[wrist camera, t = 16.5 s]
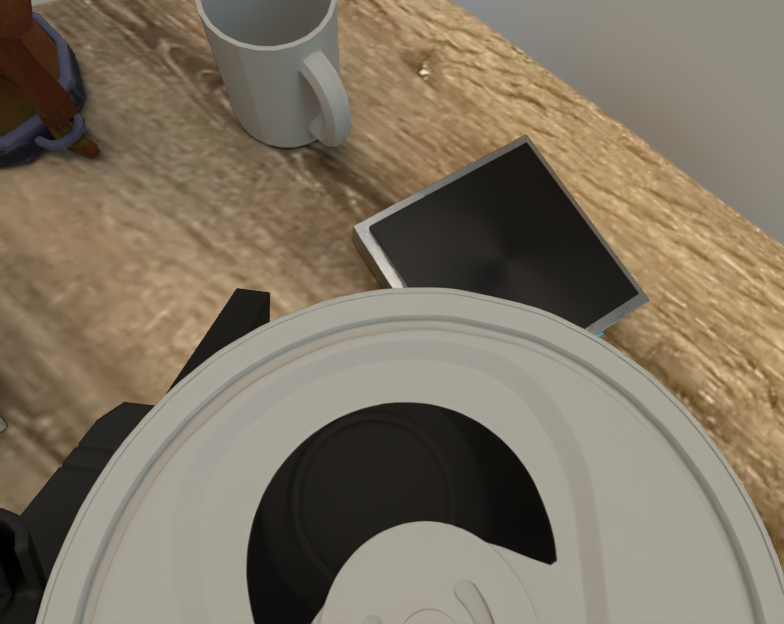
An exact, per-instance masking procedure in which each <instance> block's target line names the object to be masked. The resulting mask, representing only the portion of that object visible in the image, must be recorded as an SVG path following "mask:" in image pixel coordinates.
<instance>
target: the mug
mask: <svg viewBox="0 0 784 624" xmlns="http://www.w3.org/2000/svg"><path fill="white" fill-rule="evenodd" d="M85 98H86V95H85V91H84V88H83V84H82V80H81V76H80V73H79V69H78V65H77V61H76V58H75V54H74V53H73V51H72V50H71V48H70V47H69V45H68V44H67V42H66V41H65V40H64V39H63V38H62V37H61V36H60V35H59V34H58V33H57V32H56V31H55V30H54V29H53V28H52V27H51V26H50V25H49V24H48V22H47V21H46V20H45V19H44V18H43V17H42V16H41V15H40V14H38V13H35V12H32V6H31V0H0V167H3V166H9V165H15V164H21V163H28V162H29V161H31V160H32V159H34V158H35V157H36V156H38V155H39V154H41V153H42V152H44V151H45V150H46V149H50V150H54V151H55V150H59V149H64V148H68V149H70V150H72V151H75V152H77V153H79V154H81V155H83V156H85V157H88V158H90V159H93V158H94V157H95V155H96V154H97V153H98V152H99V151H100V149H99V147H98V145H97V144H96V143H94V142H93V141H91V140H90V139H88V138H87V137H86V136H85V135H84V134H83V132H84V130H85V120H84V118H83V117H82V116H81V115H80V113H79V112H78V111H79V109H80V108H81V106H82V104H83V102H84V100H85ZM73 121H74V124H73Z"/></svg>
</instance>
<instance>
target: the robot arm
mask: <svg viewBox="0 0 784 624" xmlns="http://www.w3.org/2000/svg"><path fill="white" fill-rule="evenodd" d="M269 322H270V293H269V292H262V291H254V290H247V289H239V288H237V289H236V290H235V292H234V293H233V295H232V296H231V298H230V299H229V301H228V302H227V304H226V305H225V307H224V308H223V310H222V311H221V313H220V314H219V316H218V317H217V319H216V320H215V322H214V323H213V325H212V326H211V328H210V329H209V331H208V332H207V334H206V335H205V337H204V338H203V340H202V341H201V342H200V344H199V345H198V347H197V348H196V350H195V351H194V353H193V354H192V356H191V357H190V359H189V360H188V362H187V363H186V365H185V366H184V368H183V369H182V371H181V372H180V374H179V375H178V377H177V378H176V380H175V381H174V383H173V384H172V386H171V387H170V389H169V390H168V392H169V391H170V390H171V389H172V388H173V387H174V386H176V385H177V384H178V383H179V382H180V381H181V380H182V379H184V378H185V377H186V376H187V375H188V374H190V373H191V372H192V371H193V370H195V369H196V368H197V367H198V366H199V365H201V364H202V363H203V362H204V361H206V360H207V359H208V358H210V357H211V356H212V355H214V354H215V353H216V352H218V351H219V350H221V349H223V348H224V347H226V346H227V345H229V344H230V343H232V342H234V341H236V340H237V339H239V338H241V337H243V336H244V335H246V334H248V333H250V332H251V331H253V330H255V329H256V328H258V327H260V326H262V325H264V324H266V323H269ZM168 392H167V393H168ZM167 393H166V394H167ZM153 407H154V406H153V405H145V404H137V403H129V402H123V403H122V404H120V405H119V406H117V407H116V408H114V409H113V410H111V411H110V412H108V413H107V414H105V415H104V416H102V417H101V418H99V419H98V420H97V421H96V422H95V423H94V425H93V426H92V427H91V428H90V430H89V431H88V432H87V433H86V435H85V436H84V437H83V438H82V440H81V441H80V442H79V446H78V448H74V450H73V451H72V452H71V453H70V454H69V456H68V457H67V458H66V459H65V461H64V462H63V466H62V468H60V467H59V468H58V469H57V471H56V472H55V473H54V474H53V476H52V477H51V478H50V479H49V481H48V482H47V483H46V484H45V486H44V487H43V488H42V489H41V491H40V492H39V493H38V494H37V496H36V497H35V498H34V499H33V501H32V502H31V503H30V504H29V506H28V507H27V508H26V509H25V511H24V512H23V513H22V514H21V516H20V515H17V514H15V513H13V512H10V511H8V510H5V509H3V508H0V624H35V623H36V620H37V616H38V612H39V609H40V605H41V602H42V598H43V595H44V592H45V589H46V586H47V583H48V580H49V577H50V574H51V571H52V569H53V567H54V564H55V562H56V560H57V557H58V555H59V553H60V550H61V548H62V545H63V543H64V541H65V539H66V536H67V534H68V532H69V530H70V528H71V526H72V524H73V522H74V520H75V518H76V516H77V514H78V511H79V509H80V508H81V506H82V504H83V502H84V501H85V499H86V497H87V495H88V494H89V492H90V490H91V488H92V487H93V485H94V484H95V482H96V481H97V479H98V478H99V476H100V474H101V473H102V471H103V470H104V468H105V467H106V465H107V464H108V462H109V461H110V459H111V457H112V456H113V455H114V453H115V452H116V451H117V449H118V448H119V447H120V445H121V444H122V443H123V441H124V440H125V439H126V438H127V437H128V435H129V434H130V433H131V432H132V431H133V430H134V428H135V427H136V426H137V425H138V424H139V423H140V422H141V420H142V419H143V418H144V417H145V416H146V415H147V414H148V413H149V412H150V411H151V409H152V408H153Z"/></svg>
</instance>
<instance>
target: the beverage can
mask: <svg viewBox="0 0 784 624" xmlns="http://www.w3.org/2000/svg"><path fill="white" fill-rule="evenodd" d="M35 624H784V574H783V571H782V568H781V565H780V562H779V560H778V557H777V555H776V552H775V550H774V547H773V545H772V542H771V540H770V537H769V535H768V532H767V530H766V528H765V526H764V524H763V522H762V520H761V518H760V516H759V514H758V511H757V510H756V508H755V506H754V504H753V502H752V501H751V499H750V497H749V495H748V493H747V492H746V490H745V488H744V486H743V484H742V482H741V481H740V479H739V478H738V476H737V474H736V473H735V471H734V470H733V468H732V467H731V465H730V464H729V462H728V461H727V459H726V458H725V457H724V455H723V454H722V453H721V451H720V450H719V448H718V447H717V446H716V444H715V443H714V442H713V440H712V439H711V438H710V436H709V435H708V434H707V433H706V431H705V430H704V429H703V428H702V426H701V425H700V424H699V423H698V421H697V420H696V419H695V418H694V417H693V416H692V414H691V413H690V412H689V411H688V410H687V409H686V408H685V407H684V406H683V405H682V404H681V403H680V402H679V401H678V400H677V399H676V398H675V397H674V396H673V395H672V394H671V393H670V392H669V391H668V390H667V389H666V388H665V387H664V386H663V385H662V384H661V383H660V382H659V381H658V380H657V379H655V378H654V377H653V376H652V375H651V374H650V373H649V372H647V371H646V370H645V369H644V368H642V367H641V366H640V365H638V364H637V363H636V362H634V361H633V360H631V359H630V358H629V357H627V356H626V355H625V354H623V353H622V352H620V351H619V350H618V349H616V348H615V347H613V346H612V345H610V344H609V343H607V342H606V341H604V340H603V339H601V338H599V337H598V336H596V335H594V334H592V333H590V332H589V331H587V330H585V329H583V328H581V327H579V326H577V325H575V324H573V323H571V322H569V321H567V320H565V319H563V318H561V317H559V316H556V315H554V314H552V313H550V312H547V311H544V310H541V309H539V308H536V307H532V306H529V305H525V304H521V303H518V302H513V301H509V300H505V299H501V298H497V297H492V296H487V295H483V294H478V293H473V292H468V291H463V290H457V289H450V288H393V289H381V290H373V291H367V292H362V293H357V294H351V295H346V296H341V297H337V298H334V299H330V300H326V301H322V302H319V303H316V304H313V305H310V306H308V307H305V308H302V309H299V310H296V311H294V312H292V313H289V314H287V315H284V316H282V317H279V318H277V319H275V320H273V321H271V322H269V323H266V324H264V325H262V326H260V327H258V328H256V329H255V330H253V331H251V332H250V333H248V334H246V335H244V336H243V337H241V338H239V339H237V340H236V341H234V342H232V343H230V344H229V345H227V346H226V347H224V348H223V349H221V350H219V351H218V352H216V353H215V354H214V355H212V356H211V357H210V358H208V359H207V360H206V361H204V362H203V363H202V364H201V365H199V366H198V367H197V368H196V369H195V370H193V371H192V372H191V373H190V374H188V375H187V376H186V377H185V378H184V379H182V380H181V381H180V382H179V383H178V384H177V385H176V386H174V387H173V388H172V389H171V390H170V391H169V392H168V393H167V394H166V395H165V396H164V397H163V398H162V399H161V400H160V401H159V402H158V403H157V404H156V405H155V406H154V407H153V408H152V409H151V411H150V412H149V413H148V414H147V415H146V416H145V417H144V418H143V419H142V420H141V422H140V423H139V424H138V425H137V426H136V427H135V428H134V430H133V431H132V432H131V433H130V434H129V435H128V437H127V438H126V439H125V440H124V441H123V443H122V444H121V445H120V447H119V448H118V449H117V451H116V452H115V453H114V455H113V456H112V457H111V459H110V461H109V462H108V464H107V465H106V467H105V468H104V470H103V471H102V473H101V474H100V476H99V478H98V479H97V481H96V482H95V484H94V485H93V487H92V488H91V490H90V492H89V494H88V495H87V497H86V499H85V501H84V502H83V504H82V506H81V508H80V509H79V511H78V514H77V516H76V518H75V520H74V522H73V524H72V526H71V528H70V530H69V532H68V534H67V536H66V539H65V541H64V543H63V545H62V548H61V550H60V553H59V555H58V557H57V560H56V562H55V564H54V567H53V569H52V571H51V574H50V577H49V580H48V583H47V586H46V589H45V592H44V595H43V598H42V602H41V605H40V609H39V612H38V616H37V620H36V623H35Z"/></svg>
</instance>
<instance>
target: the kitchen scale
mask: <svg viewBox="0 0 784 624" xmlns="http://www.w3.org/2000/svg"><path fill="white" fill-rule="evenodd" d="M353 243H354V244H355V246H356V248H357V249H358V251H359V252H360V254H361V256H362V257H363V259H364V260H365V262H366V263H367V265H368V267H369V268H370V270H371V271H372V273H373V275H374V276H375V278H376V279H377V281H378V282H379V284H380V286H381V287H382V289H393V288H450V289H457V290H463V291H468V292H473V293H478V294H483V295H487V296H492V297H497V298H501V299H505V300H509V301H513V302H518V303H521V304H525V305H529V306H532V307H536V308H539V309H541V310H544V311H547V312H550V313H552V314H554V315H556V316H559V317H561V318H563V319H565V320H567V321H569V322H571V323H573V324H575V325H577V326H579V327H581V328H583V329H585V330H587V331H589V332H590V333H592V334H594V335H596V336H598V337H600V336H602V335H603V332H602V331H604V330H606V329H607V328H609V327H610V326H612V325H613V324H615V323H616V322H618V321H619V320H621V319H622V318H624V317H626V316H627V315H629V314H630V313H632V312H633V311H635V310H636V309H638V308H639V307H641V306H642V305H644V304H646V303H647V302H649V301H650V300H649V299H648V297H647V296H646V295H645V293H644V292H643V291H642V289H641V288H640V287H639V285H638V284H637V283H636V281H635V280H634V278H633V277H632V276H631V274H630V273H629V272H628V270H627V269H626V268H625V266H624V265H623V264H622V262H621V261H620V260H619V258H618V257H617V256H616V254H615V253H614V252H613V250H612V249H611V248H610V246H609V245H608V244H607V242H606V241H605V239H604V238H603V237H602V235H601V234H600V233H599V231H598V230H597V229H596V227H595V226H594V225H593V223H592V222H591V221H590V219H589V218H588V217H587V215H586V214H585V213H584V211H583V210H582V209H581V207H580V206H579V205H578V203H577V202H576V201H575V199H574V198H573V196H572V195H571V194H570V192H569V191H568V190H567V188H566V187H565V186H564V184H563V183H562V182H561V180H560V179H559V178H558V176H557V175H556V174H555V172H554V171H553V170H552V168H551V167H550V166H549V164H548V163H547V162H546V160H545V159H544V157H543V156H542V155H541V153H540V152H539V151H538V149H537V148H536V147H535V145H534V144H533V143H532V141H531V140H530V139H529V137H528V136H527V135H524V136H522V137H520V138H518V139H516V140H514V141H513V142H511V143H509V144H507V145H505V146H503V147H501V148H499V149H497V150H496V151H494V152H492V153H490V154H488V155H486V156H484V157H482V158H480V159H479V160H477V161H475V162H473V163H471V164H469V165H467V166H465V167H464V168H462V169H460V170H458V171H456V172H454V173H452V174H450V175H448V176H447V177H445V178H443V179H441V180H439V181H437V182H435V183H433V184H431V185H430V186H428V187H426V188H424V189H422V190H420V191H418V192H416V193H415V194H413V195H411V196H409V197H407V198H405V199H403V200H401V201H399V202H398V203H396V204H394V205H392V206H390V207H388V208H386V209H384V210H382V211H381V212H379V213H377V214H375V215H373V216H371V217H369V218H367V219H366V220H364V221H362V222H360V223H358V224H356V225H354V226H353Z"/></svg>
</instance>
